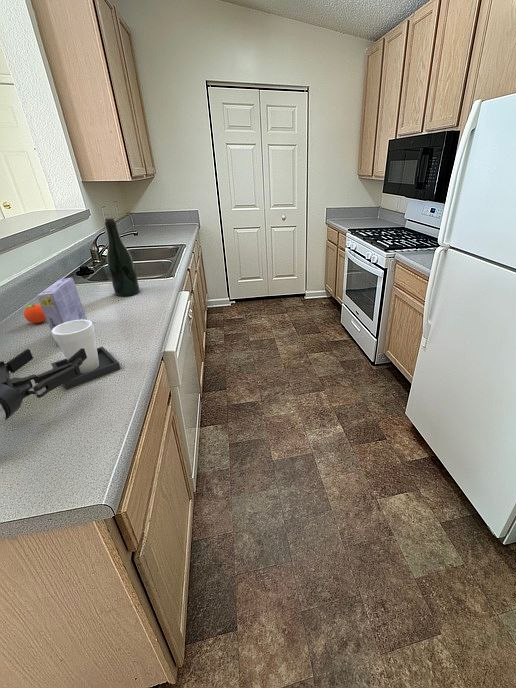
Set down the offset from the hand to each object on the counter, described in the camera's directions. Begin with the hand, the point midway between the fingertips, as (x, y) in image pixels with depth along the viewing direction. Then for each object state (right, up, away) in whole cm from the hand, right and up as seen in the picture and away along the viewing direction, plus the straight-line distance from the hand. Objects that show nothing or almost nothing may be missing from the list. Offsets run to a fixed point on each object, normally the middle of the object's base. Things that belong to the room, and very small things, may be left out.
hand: (57, 353), depth 84 cm
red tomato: (-37, +8, +41) cm, 56 cm away
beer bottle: (-18, +22, +69) cm, 74 cm away
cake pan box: (-18, +4, +33) cm, 37 cm away
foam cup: (0, -5, +11) cm, 12 cm away
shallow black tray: (0, -5, +12) cm, 13 cm away
